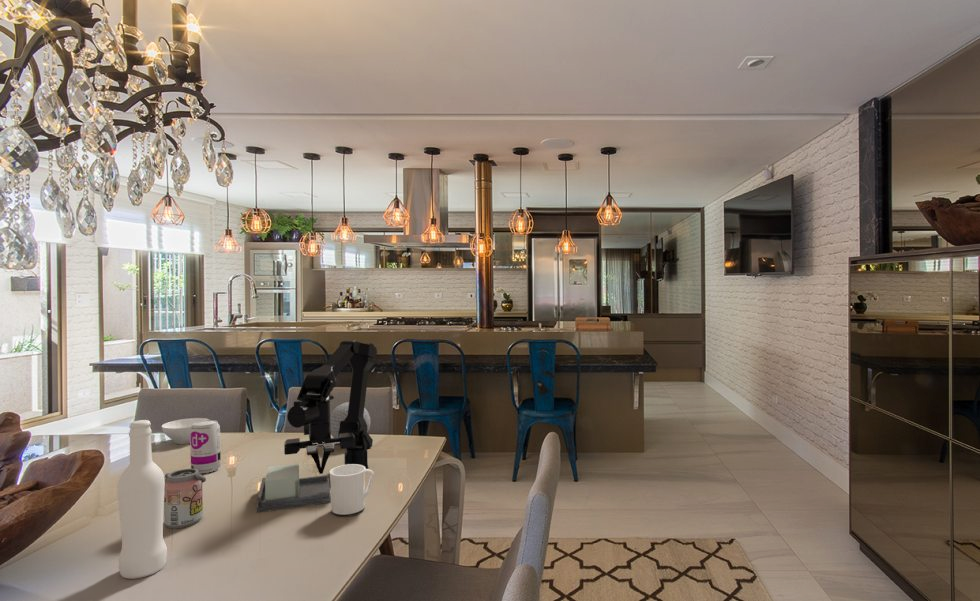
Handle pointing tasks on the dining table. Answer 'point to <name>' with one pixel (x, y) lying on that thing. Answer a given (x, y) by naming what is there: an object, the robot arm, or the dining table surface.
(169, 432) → the bowl
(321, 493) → the housing base
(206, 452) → the supplement can
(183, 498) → the pink grey lidded container
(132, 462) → the bottle
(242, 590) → the dining table surface
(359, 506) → the mug
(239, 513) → the dining table surface
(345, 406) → the decorative ball
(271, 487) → the housing cover
